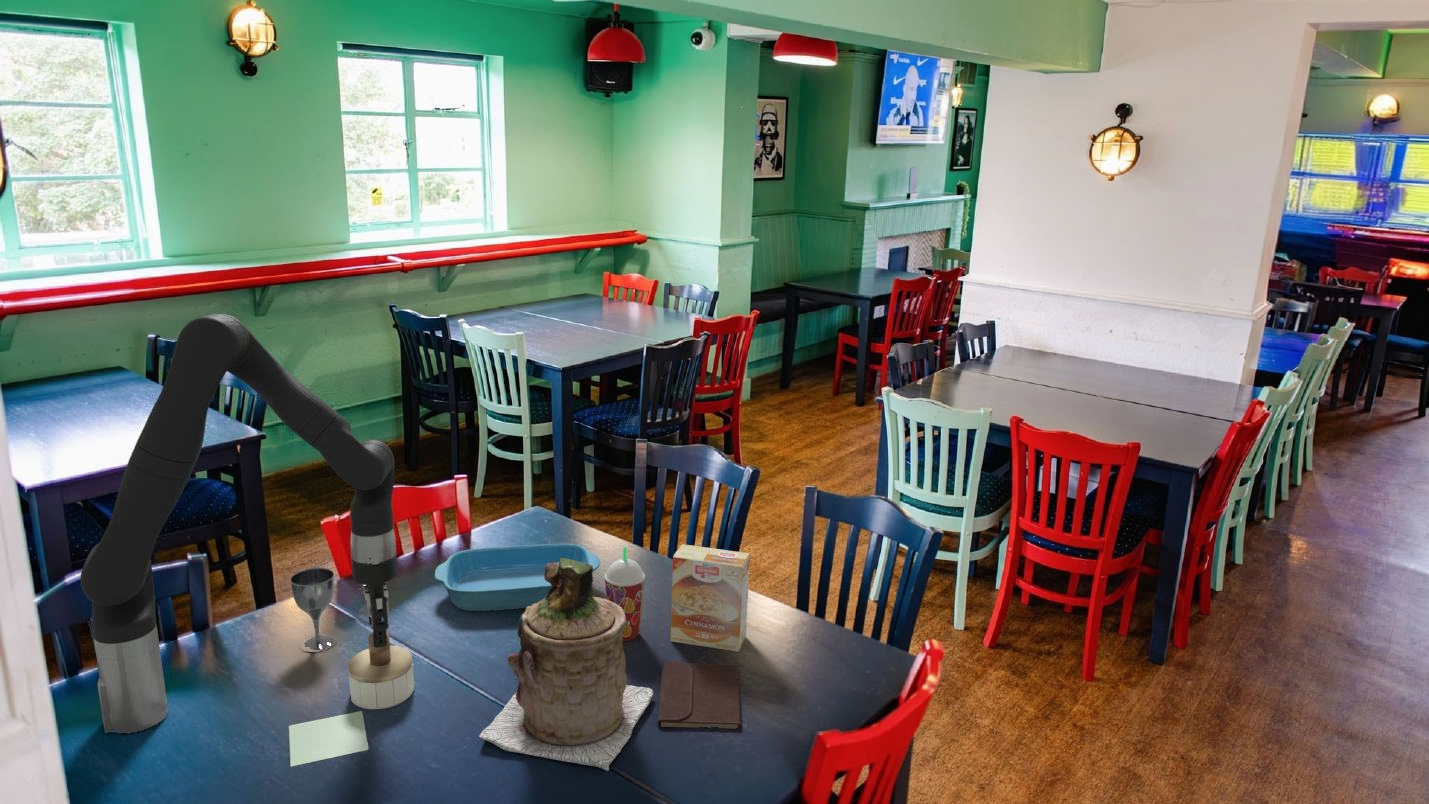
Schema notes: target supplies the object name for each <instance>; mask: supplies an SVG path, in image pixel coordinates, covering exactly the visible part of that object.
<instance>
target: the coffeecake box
mask: <svg viewBox="0 0 1429 804" xmlns="http://www.w3.org/2000/svg"><path fill="white" fill-rule="evenodd" d="M750 559H751V553H750V552H743V551H733V550H727V549H719V548H713V547H704V546H698V545H692V544H691V545H689V544H684V543H683V544H682V543H681V545H680V546H679V548H678V549H677V550H676V551H675V553H674V554H673V556H672V573H671V576H672V577H671V609H670V611H671V613H670V615H671V616H670V642H672V643H678V644H679V643H680V644H686V645H692V646H699V647H705V648H712V649H718V650H725V651H731V652H737V653H738V652H740V650H741V648H742V645H743V643H744V641H745V639H746V636H747V623H748V622H747V621H748V619H747V618H748V602H749V601H748V600H749V580H750V563H751V560H750Z"/></svg>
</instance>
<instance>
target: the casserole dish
mask: <svg viewBox="0 0 1429 804" xmlns="http://www.w3.org/2000/svg"><path fill="white" fill-rule="evenodd" d="M561 558H566V559H569V560H574V561H578V562H582V563H588V564H590V565H592V566H593V572H595V571H596V570H598V569H599V568H600V566H601V561H600V557H599V556H598V555H597V554H596V553H594V552H591V551H589V550H588V549H587V548H586V547H585V546H582V545H580V544H574V543H547V544H546V543H545V544H528V545H526V544H525V545H511V546H509V545H507V546H496V547H495V546H492V547H481V548H478V547H477V548H470V549H465V550H461V551H457V552H455V553H453V554H451V555H450V556H449V557H448V558H447V559H446V561H444V562H442V563H441V564H439V565H438V566H437V567H436V568H435V571H434V579H435V580H436V581H437V582H439V583H442V584H443V585H444V587H445V589H446V592H447V594H448V596H449V598H450V601H451V602H452V604H453V605H454V606H456V608H458V609H461V610H464V611H467V610H468V611H469V612H489V611H491V610H493V611H503V610H504V609H508V610H519V608H520V609H526V608H527V607H528V606H532V605H533V604H534V603H538V602H539V601H541V600H543V599H544V598H547V593H548V591H549V590H550V589H551V588H552V585H551V584H550V583H549V582H547V581H546V580H545V579H544V575H545V567H546V565H547V564H549V563H558V562H559V560H560V559H561ZM504 611H505V610H504ZM491 612H492V611H491Z"/></svg>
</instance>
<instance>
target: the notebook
mask: <svg viewBox="0 0 1429 804" xmlns="http://www.w3.org/2000/svg"><path fill="white" fill-rule="evenodd" d="M660 678H661V680H660V688H659V689H660V691H659V702H658V713H657V714H658V715H657V721H656V722H657V724H656V725H657V727H658V728H659V727H663V728H664V727H668V728H670V727H671V728H699V727H708V728H707V729H712V728H711V727H719V728H718V729H736V728H738V729H739V728H741V729H742V719H741V718H742V717H741V699H740V698H741V697H740V684H739V683H740V682H739V667H738V664H728V663H727V664H725V663H723V664H722V663H697V662H696V663H695V662H694V663H691V662H688V663H687V662H683V661H682V662H681V661H673V660H672V661H666V660H665V661H663V663H662V667H661V677H660Z"/></svg>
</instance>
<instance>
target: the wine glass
mask: <svg viewBox="0 0 1429 804" xmlns="http://www.w3.org/2000/svg"><path fill="white" fill-rule="evenodd" d="M290 587H291V593H292V597H293V599H294V602H295V604H296V606H297V607H298V608H299V609H300V610H302V612H304V613H305V614H307V615H308V616H310V618H311V620H312V623H313V628H314V636H315V637H312V636H311V637H312V638H311V639H309V640H307V642H305V643H304V644H305V647H310V649H313V650H322V649H323V650H325V649H326V648H327V647H332V644H335V641H338V640H335V639H334V638H333V637H334V636H333V635H331V637H330V636H320V635H321V634H320V619H321V616H322V614H323V613H324V611H325V610H326V609H327V608H328V607H329V605H330V604H331V602H332V601H333V597H334V592H335V574H334V571H333V570H331V568H330V569H329V568H325V567H311V568H305V569H302V570H300V571H297V572H295V573H294V574H293V575H291V577H290ZM332 636H333V637H332ZM335 645H336V644H335ZM333 647H335V646H334V645H333ZM333 647H332V648H333Z"/></svg>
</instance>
